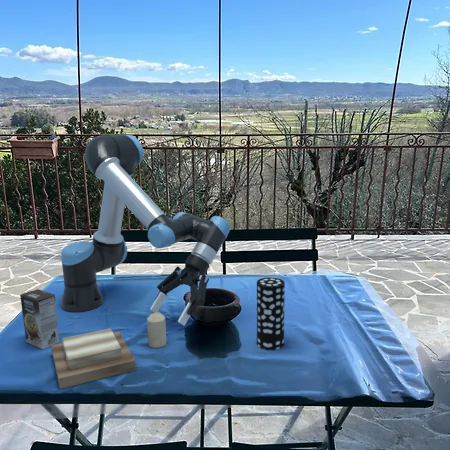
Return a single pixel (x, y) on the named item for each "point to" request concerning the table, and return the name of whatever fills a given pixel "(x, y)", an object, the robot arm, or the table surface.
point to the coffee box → (40, 318)
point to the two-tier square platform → (91, 357)
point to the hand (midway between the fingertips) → (166, 317)
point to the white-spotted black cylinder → (270, 313)
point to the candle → (156, 330)
